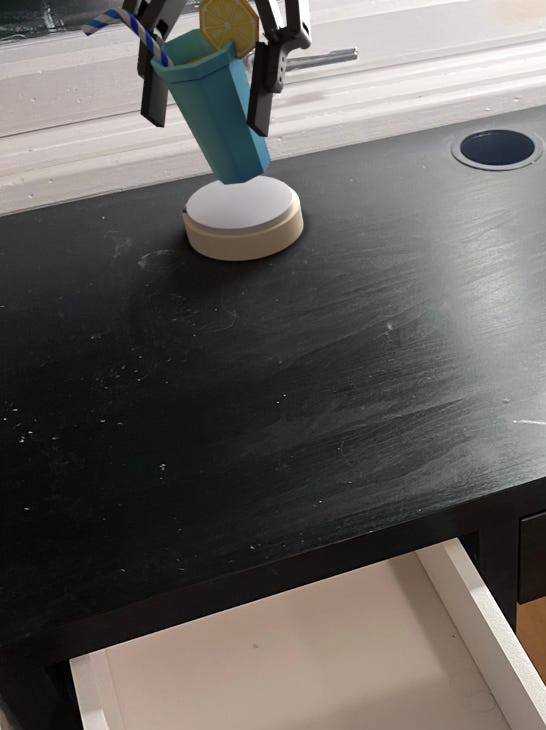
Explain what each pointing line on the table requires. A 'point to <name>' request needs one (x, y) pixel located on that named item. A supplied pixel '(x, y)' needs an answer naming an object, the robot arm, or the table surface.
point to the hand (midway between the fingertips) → (204, 125)
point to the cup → (210, 83)
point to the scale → (243, 219)
